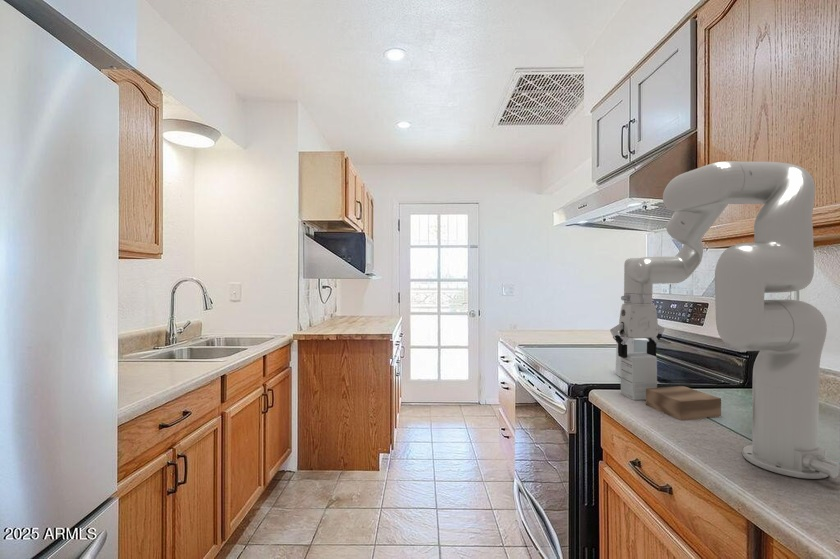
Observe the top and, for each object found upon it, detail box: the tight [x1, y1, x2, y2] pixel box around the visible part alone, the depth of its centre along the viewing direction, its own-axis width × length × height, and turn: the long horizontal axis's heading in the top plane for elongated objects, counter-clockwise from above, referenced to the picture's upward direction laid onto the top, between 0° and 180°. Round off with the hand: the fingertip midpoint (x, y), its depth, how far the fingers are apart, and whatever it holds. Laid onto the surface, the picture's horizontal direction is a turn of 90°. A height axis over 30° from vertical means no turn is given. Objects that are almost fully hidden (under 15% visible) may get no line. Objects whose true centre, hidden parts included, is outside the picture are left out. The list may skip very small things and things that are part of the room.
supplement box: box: [620, 352, 658, 401], centre depth 123 cm, size 7×7×13 cm
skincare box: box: [614, 331, 649, 378], centre depth 141 cm, size 21×6×16 cm, turn 168°
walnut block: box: [645, 385, 722, 421], centre depth 110 cm, size 12×12×5 cm
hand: (637, 356), depth 124 cm, fingers open, 9 cm apart
